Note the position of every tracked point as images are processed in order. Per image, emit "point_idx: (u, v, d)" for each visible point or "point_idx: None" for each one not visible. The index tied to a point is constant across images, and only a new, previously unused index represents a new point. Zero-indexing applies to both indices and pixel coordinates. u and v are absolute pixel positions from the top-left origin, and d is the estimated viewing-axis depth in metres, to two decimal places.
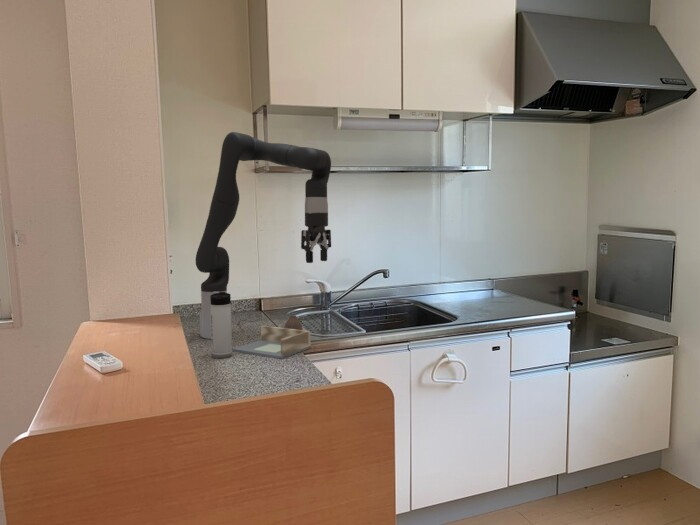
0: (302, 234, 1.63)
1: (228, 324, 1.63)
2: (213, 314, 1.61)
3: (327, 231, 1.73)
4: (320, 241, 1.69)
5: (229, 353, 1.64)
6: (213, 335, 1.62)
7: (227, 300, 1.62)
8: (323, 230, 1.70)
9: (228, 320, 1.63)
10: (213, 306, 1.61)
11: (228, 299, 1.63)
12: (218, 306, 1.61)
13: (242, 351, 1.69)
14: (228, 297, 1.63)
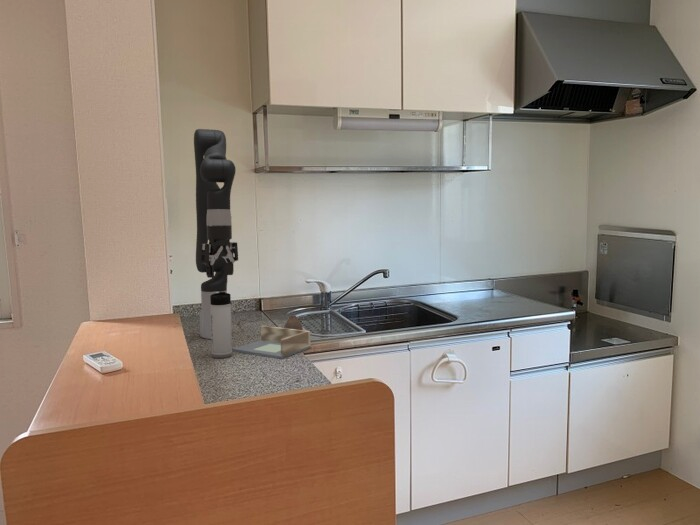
0: (201, 248, 1.57)
1: (228, 324, 1.63)
2: (213, 314, 1.61)
3: (233, 244, 1.67)
4: (223, 255, 1.63)
5: (229, 353, 1.64)
6: (213, 335, 1.62)
7: (227, 300, 1.62)
8: (227, 243, 1.64)
9: (228, 320, 1.63)
10: (213, 306, 1.61)
11: (228, 299, 1.63)
12: (218, 306, 1.61)
13: (242, 351, 1.69)
14: (228, 297, 1.63)
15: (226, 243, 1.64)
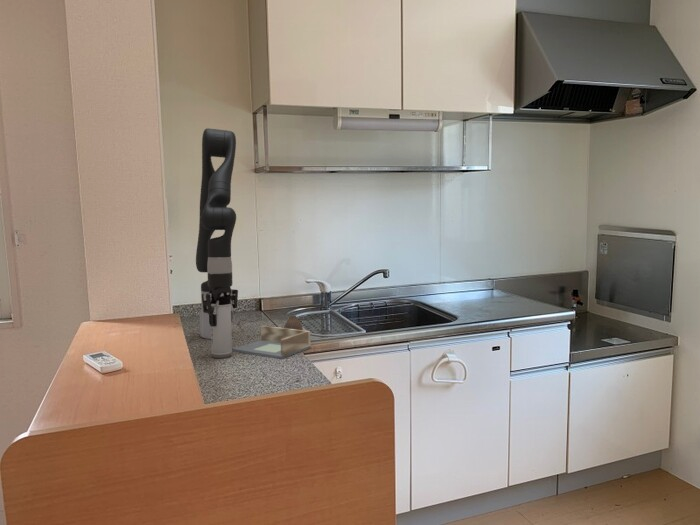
0: (202, 298, 1.58)
1: (228, 324, 1.63)
2: None
3: (234, 291, 1.68)
4: None
5: (229, 353, 1.64)
6: (213, 334, 1.62)
7: (227, 300, 1.62)
8: (228, 289, 1.65)
9: (228, 320, 1.63)
10: None
11: (228, 299, 1.63)
12: None
13: (242, 351, 1.69)
14: (228, 297, 1.63)
15: (227, 290, 1.65)
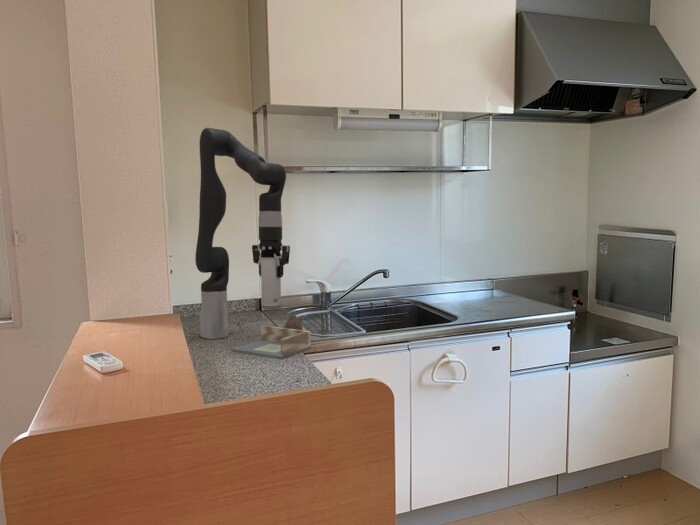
0: None
1: (265, 277, 1.67)
2: None
3: None
4: None
5: (265, 305, 1.68)
6: None
7: (264, 253, 1.67)
8: (274, 244, 1.67)
9: (264, 273, 1.67)
10: None
11: (265, 252, 1.66)
12: None
13: (242, 351, 1.69)
14: (265, 250, 1.66)
15: (273, 244, 1.67)
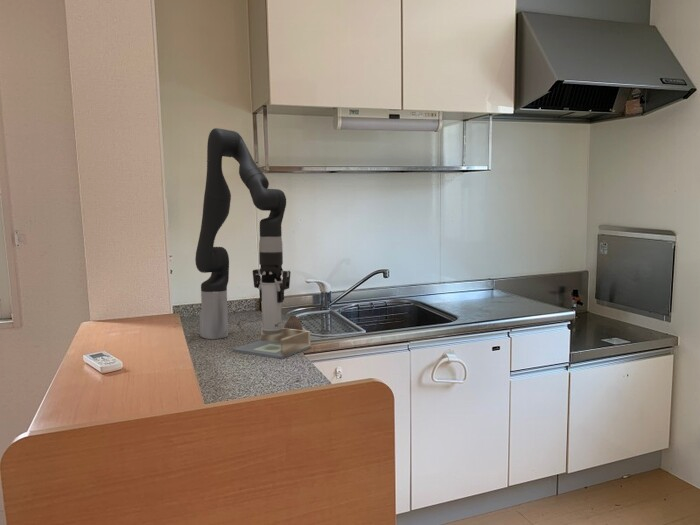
0: None
1: (265, 302, 1.68)
2: None
3: None
4: None
5: (266, 330, 1.68)
6: None
7: (264, 278, 1.67)
8: (275, 269, 1.68)
9: (265, 298, 1.68)
10: None
11: (265, 278, 1.67)
12: None
13: (242, 351, 1.69)
14: (266, 276, 1.67)
15: (273, 269, 1.68)
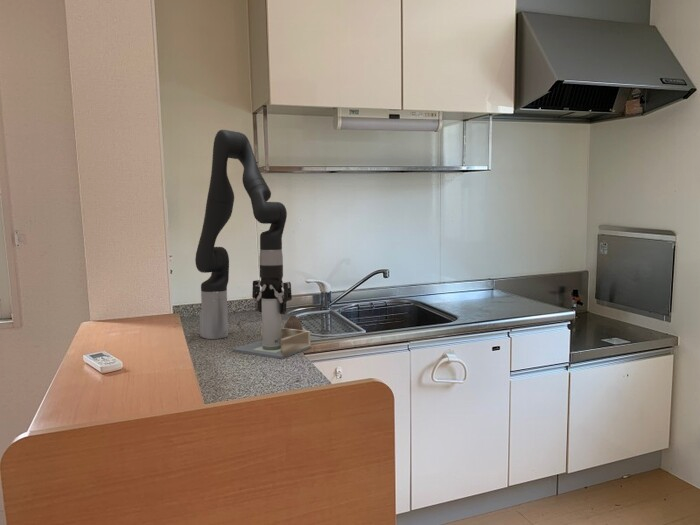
0: None
1: (265, 318, 1.68)
2: None
3: None
4: None
5: (266, 346, 1.69)
6: None
7: (264, 294, 1.68)
8: (275, 282, 1.68)
9: (265, 314, 1.68)
10: None
11: (265, 294, 1.68)
12: None
13: (242, 351, 1.69)
14: (266, 292, 1.68)
15: (274, 282, 1.68)
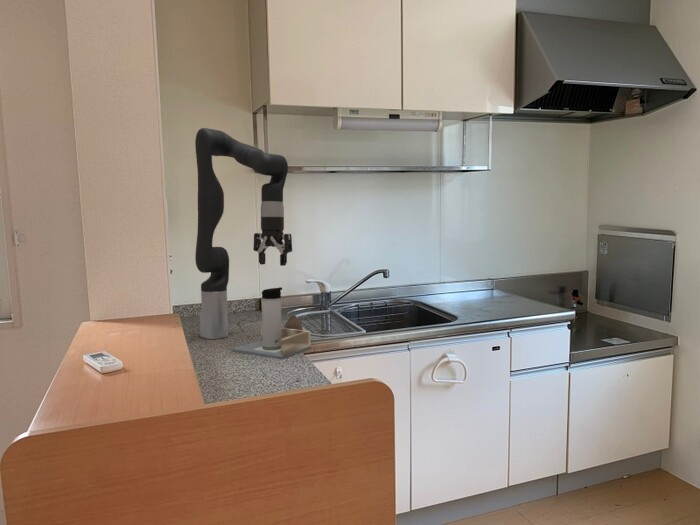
0: None
1: (265, 318, 1.68)
2: None
3: None
4: (272, 245, 1.71)
5: (266, 346, 1.69)
6: None
7: (265, 294, 1.68)
8: (276, 234, 1.69)
9: (265, 314, 1.68)
10: None
11: (266, 294, 1.68)
12: None
13: (242, 351, 1.69)
14: (266, 292, 1.67)
15: (274, 234, 1.70)
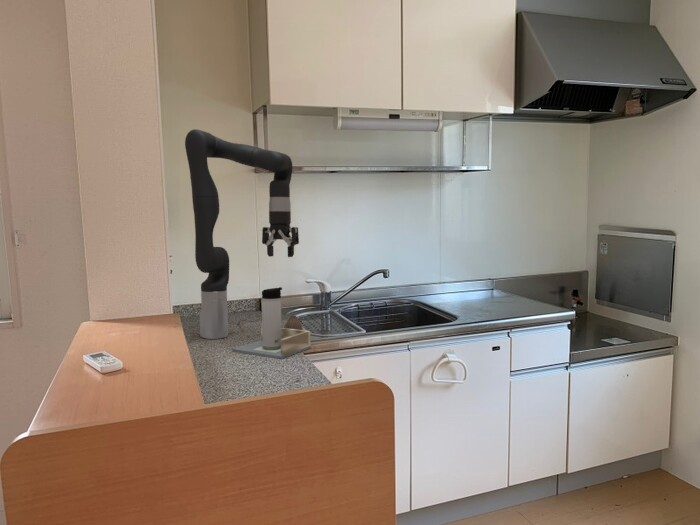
0: None
1: (265, 318, 1.68)
2: None
3: None
4: (279, 237, 1.82)
5: (266, 346, 1.69)
6: None
7: (265, 294, 1.68)
8: (283, 227, 1.81)
9: (265, 314, 1.68)
10: None
11: (266, 294, 1.68)
12: None
13: (242, 351, 1.69)
14: (266, 292, 1.68)
15: (282, 227, 1.81)
